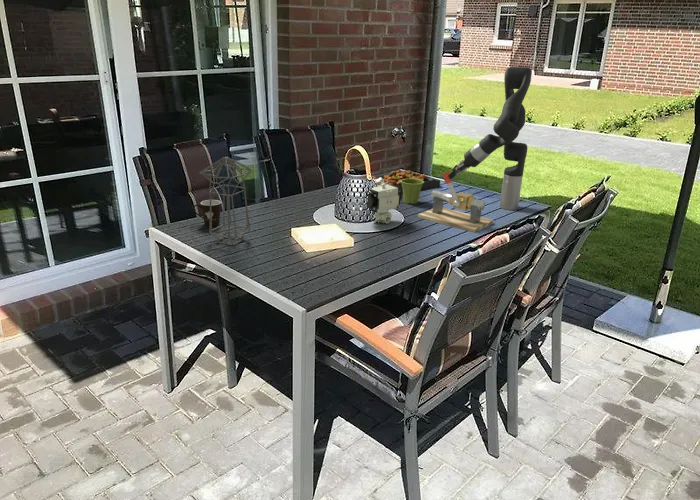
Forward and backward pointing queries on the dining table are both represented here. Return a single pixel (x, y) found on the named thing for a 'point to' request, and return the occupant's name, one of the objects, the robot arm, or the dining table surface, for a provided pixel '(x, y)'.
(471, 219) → the valve body
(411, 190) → the plant pot
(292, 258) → the dining table surface
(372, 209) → the ball valve
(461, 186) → the dining table surface
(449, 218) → the mounting board
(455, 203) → the valve lever
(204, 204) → the coffee mug
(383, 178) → the food platter
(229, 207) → the geometric lantern
